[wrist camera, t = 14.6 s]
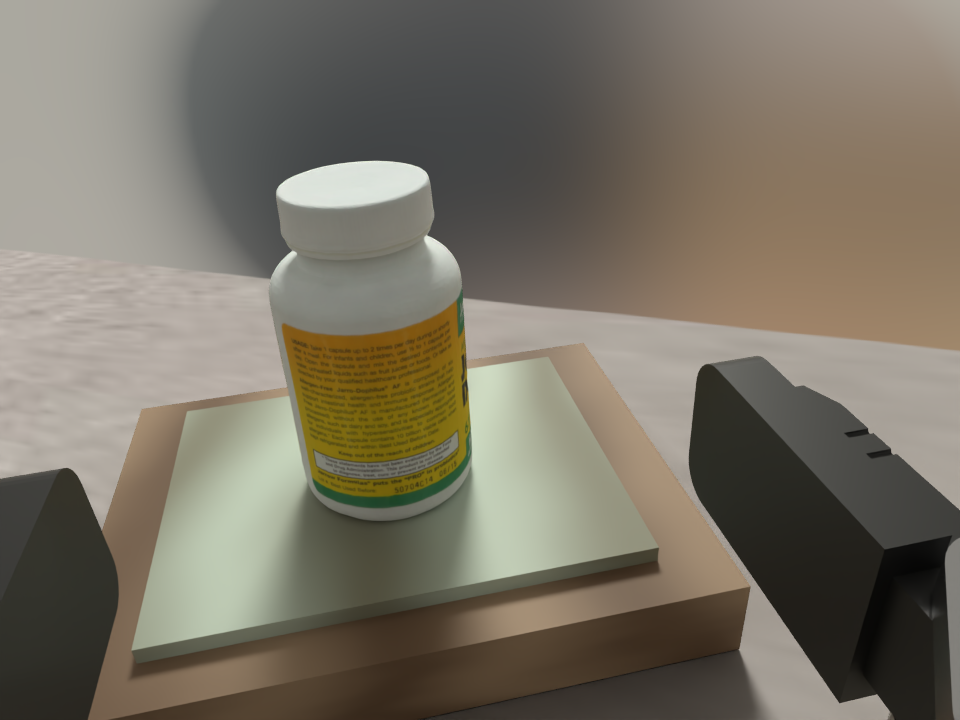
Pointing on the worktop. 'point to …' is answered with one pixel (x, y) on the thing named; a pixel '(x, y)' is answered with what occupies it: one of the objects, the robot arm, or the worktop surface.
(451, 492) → the supplement bottle
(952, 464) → the worktop surface
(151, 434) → the brown flat wooden block
